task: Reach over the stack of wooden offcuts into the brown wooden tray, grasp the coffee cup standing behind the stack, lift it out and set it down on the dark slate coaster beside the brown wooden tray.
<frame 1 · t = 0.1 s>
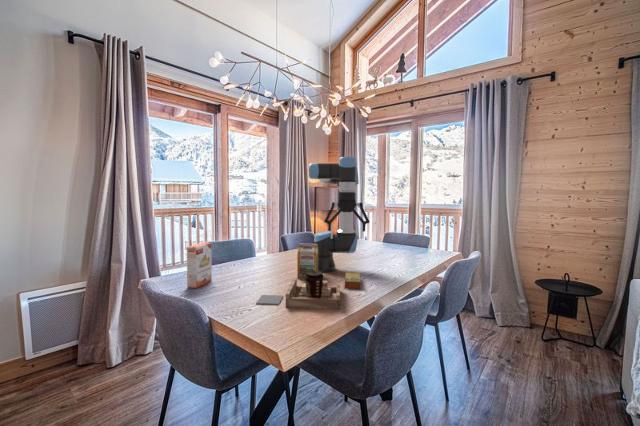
hand: (346, 238, 138), 28 cm above the table, tool pointing down, fingers open, 13 cm apart
coaster: (270, 300, 137), on the table
coffee cup: (314, 301, 137), resting in brown wooden tray
cracker box: (200, 284, 160), on the table
milk carton: (308, 276, 175), on the table
brown wooden tray: (314, 298, 140), on the table
carton: (352, 284, 161), on the table
offcut stack: (316, 293, 146), resting in brown wooden tray
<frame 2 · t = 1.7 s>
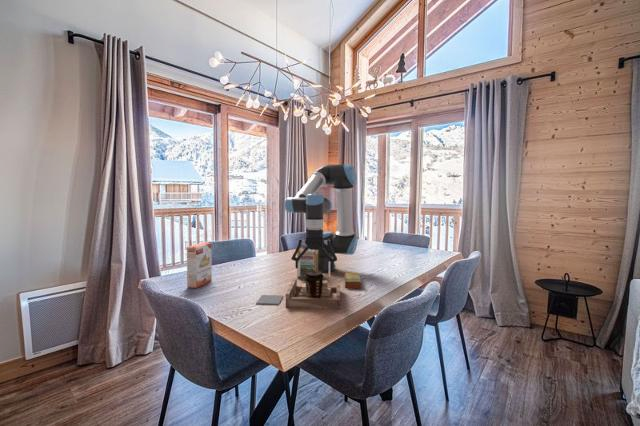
hand: (314, 276, 136), 12 cm above the table, tool pointing down, fingers open, 13 cm apart
nothing on the table moved.
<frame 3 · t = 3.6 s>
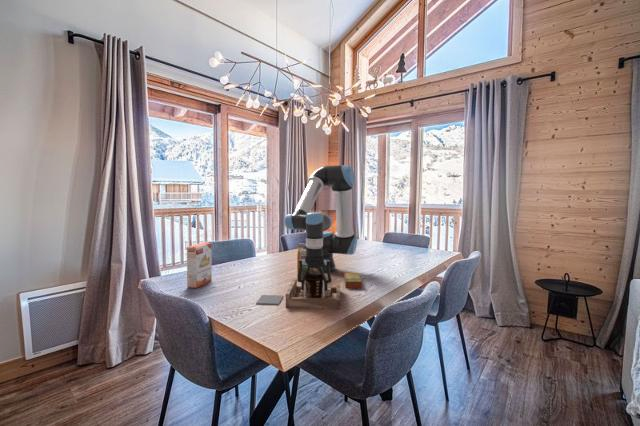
hand: (314, 297, 137), 2 cm above the table, tool pointing down, fingers closed on coffee cup, 8 cm apart
coffee cup: (314, 301, 137), resting in brown wooden tray, touching gripper
everything else where it was.
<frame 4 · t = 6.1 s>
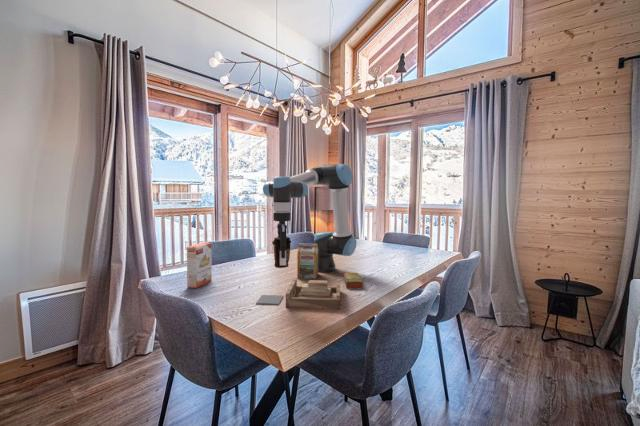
hand: (282, 262, 135), 17 cm above the table, tool pointing down, fingers closed on coffee cup, 8 cm apart
coffee cup: (282, 267, 136), point 15 cm above the table, touching gripper
everything else where it was.
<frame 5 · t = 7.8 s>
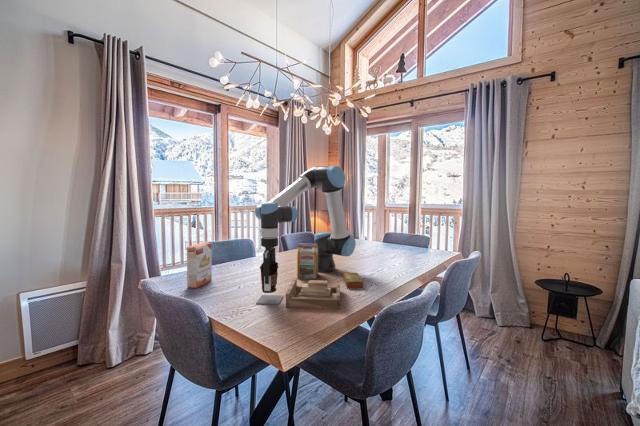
hand: (269, 287, 137), 6 cm above the table, tool pointing down, fingers closed on coffee cup, 8 cm apart
coffee cup: (269, 291, 137), point 4 cm above the table, touching gripper
everything else where it was.
when the fingers open (3 cm above the table, at t = 9.0 s): coffee cup stays where it is, resting on coaster.
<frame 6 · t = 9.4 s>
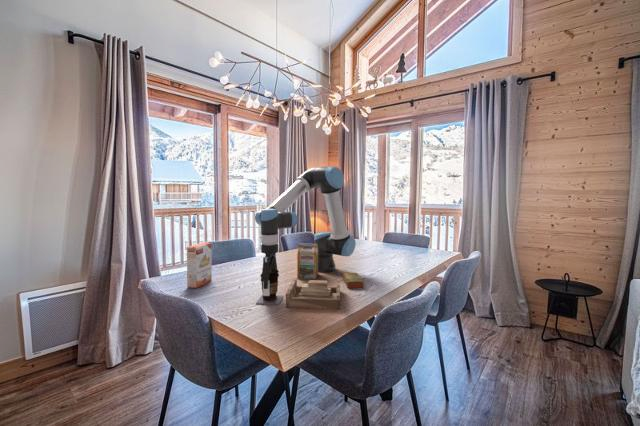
hand: (269, 290, 137), 5 cm above the table, tool pointing down, fingers open, 13 cm apart
coffee cup: (270, 299, 137), resting on coaster
everything else where it was.
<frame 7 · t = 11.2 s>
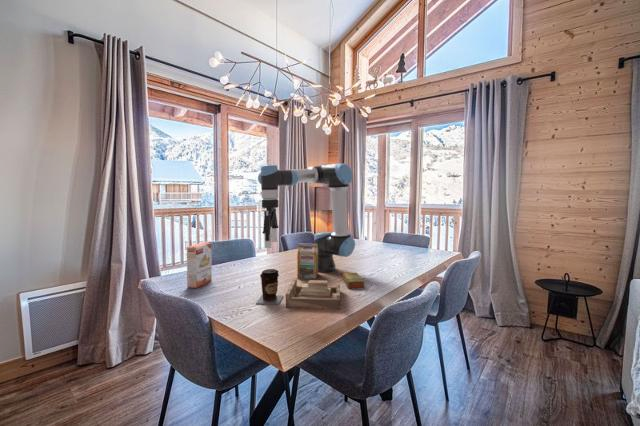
hand: (271, 244, 141), 24 cm above the table, tool pointing down, fingers open, 13 cm apart
nothing on the table moved.
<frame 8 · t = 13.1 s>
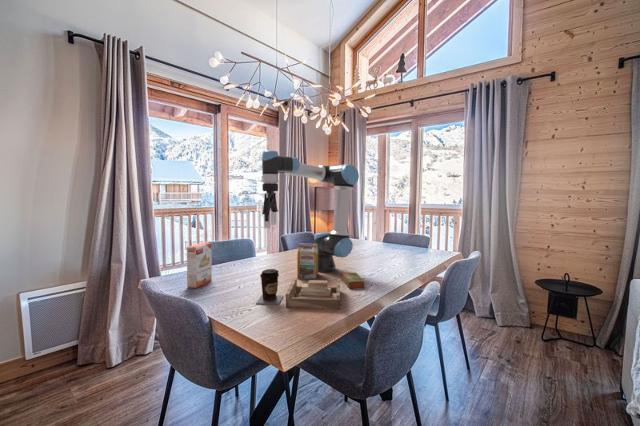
hand: (270, 226, 150), 32 cm above the table, tool pointing down, fingers open, 13 cm apart
nothing on the table moved.
at the end: coffee cup inside the target area on the coaster (0.1 cm from its centre), point 0.4 cm above the coaster's base; coffee cup tilted 0°; the gripper is holding nothing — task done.
